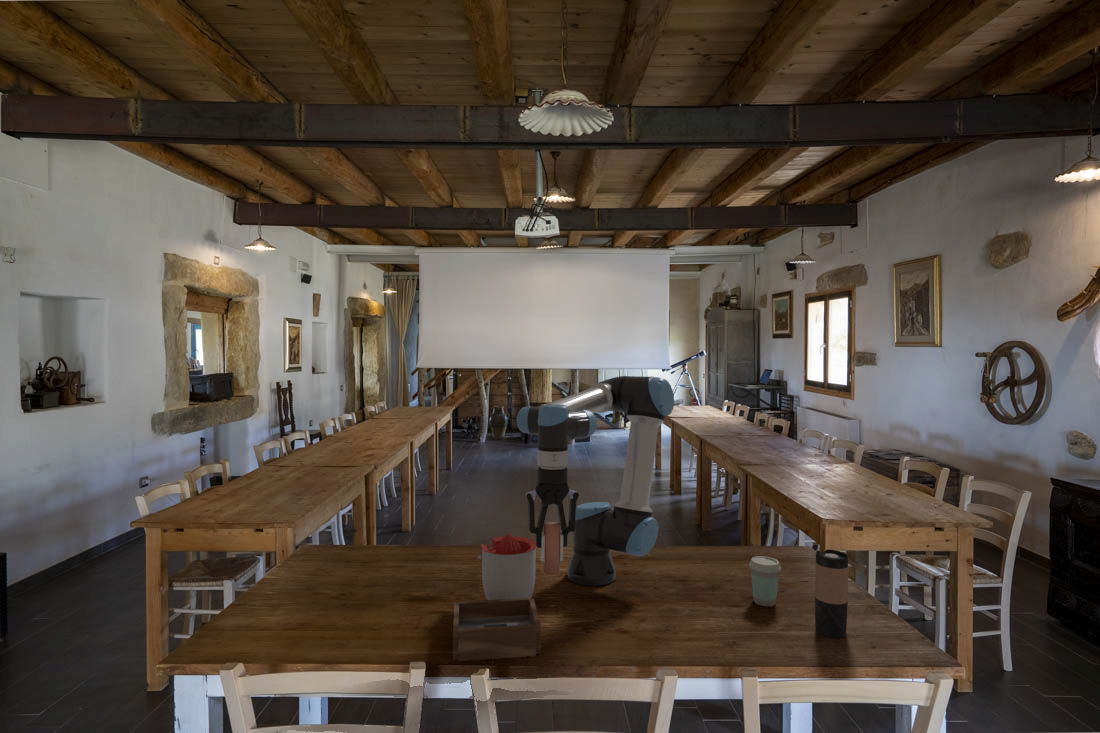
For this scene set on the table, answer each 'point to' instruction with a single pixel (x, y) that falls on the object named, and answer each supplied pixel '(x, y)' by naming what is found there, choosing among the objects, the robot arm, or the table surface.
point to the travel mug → (831, 593)
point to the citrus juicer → (508, 568)
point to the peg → (552, 548)
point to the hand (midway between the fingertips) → (551, 559)
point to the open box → (496, 629)
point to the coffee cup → (764, 579)
